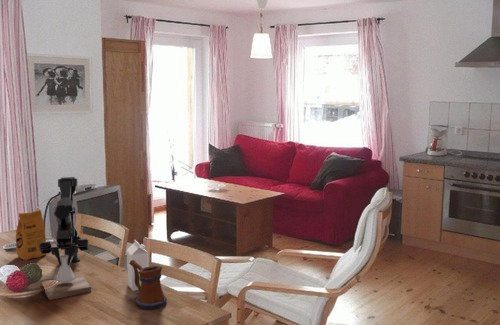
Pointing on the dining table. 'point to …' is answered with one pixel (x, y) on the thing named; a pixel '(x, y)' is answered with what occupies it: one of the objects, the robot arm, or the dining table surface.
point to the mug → (149, 286)
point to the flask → (65, 271)
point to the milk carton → (140, 257)
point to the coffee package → (30, 235)
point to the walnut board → (69, 288)
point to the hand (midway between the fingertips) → (64, 265)
